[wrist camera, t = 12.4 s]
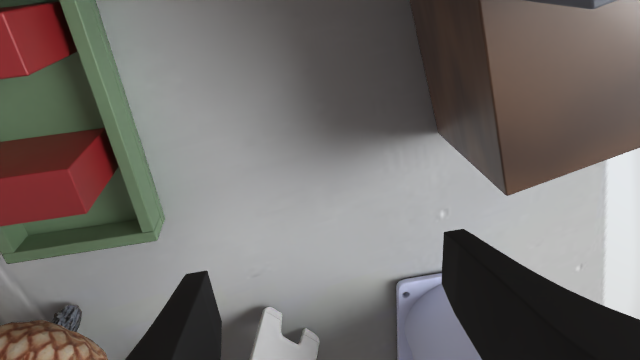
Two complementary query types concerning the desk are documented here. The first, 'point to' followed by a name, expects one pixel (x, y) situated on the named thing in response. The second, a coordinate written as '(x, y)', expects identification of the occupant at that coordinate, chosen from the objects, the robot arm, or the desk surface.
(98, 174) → the red book
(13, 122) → the green book tray
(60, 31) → the rack books
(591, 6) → the grey books
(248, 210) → the desk surface
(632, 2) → the wood grain box
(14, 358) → the acorn
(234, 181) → the desk surface
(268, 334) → the tablet stand
